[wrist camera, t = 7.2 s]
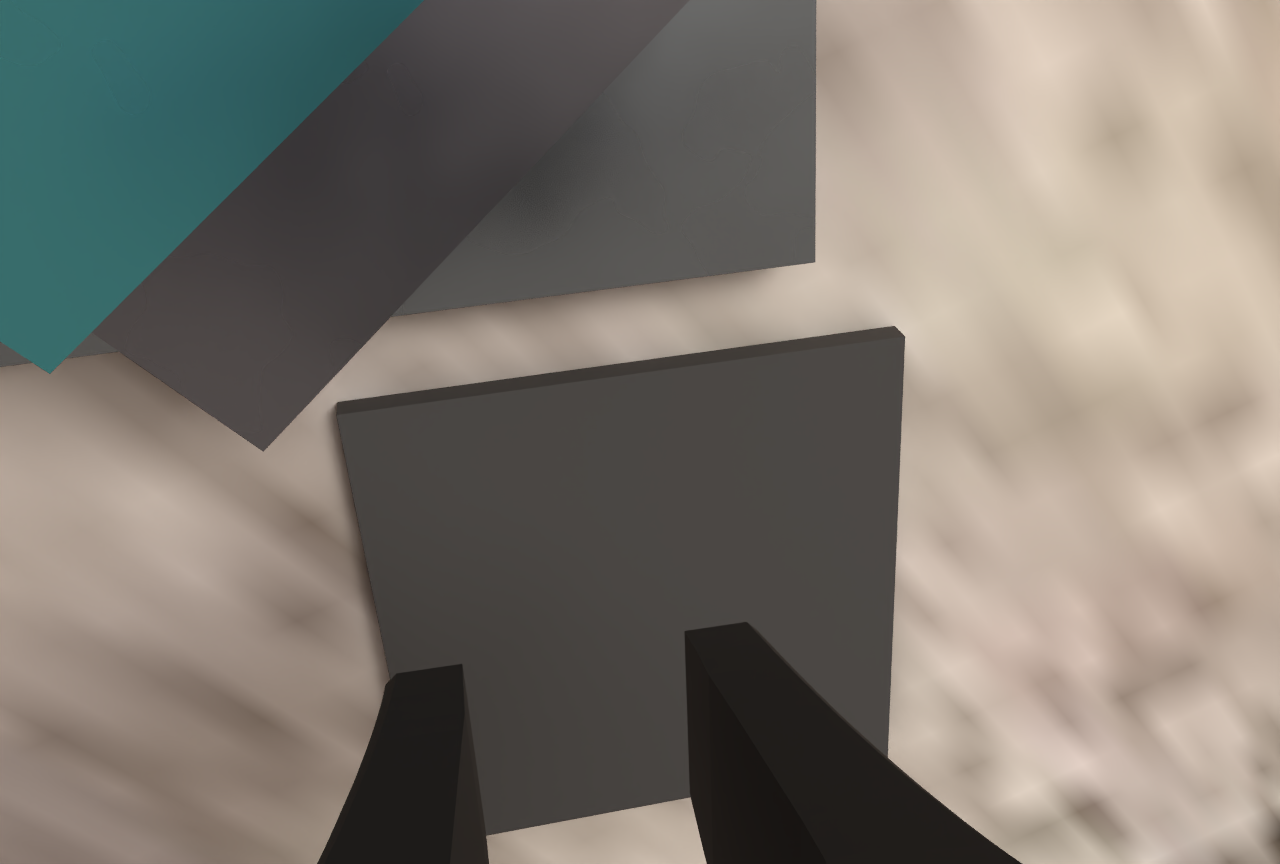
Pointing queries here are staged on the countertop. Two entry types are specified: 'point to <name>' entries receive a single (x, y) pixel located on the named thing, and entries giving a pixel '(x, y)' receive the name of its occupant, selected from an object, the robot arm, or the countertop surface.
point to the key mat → (632, 550)
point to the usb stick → (144, 135)
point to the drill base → (654, 172)
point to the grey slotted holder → (369, 200)
